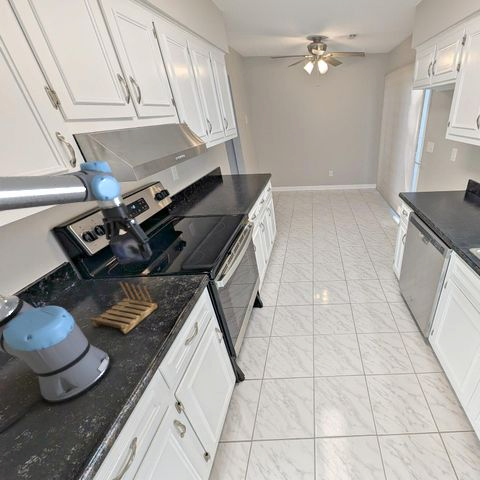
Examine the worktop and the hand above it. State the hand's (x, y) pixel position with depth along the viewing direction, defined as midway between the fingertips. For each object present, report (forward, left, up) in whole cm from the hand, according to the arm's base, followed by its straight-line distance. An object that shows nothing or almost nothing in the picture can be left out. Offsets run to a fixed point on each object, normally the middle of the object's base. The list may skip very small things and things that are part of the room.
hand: (135, 256), depth 102 cm
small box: (0, 0, -2) cm, 2 cm away
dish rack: (-14, -4, -18) cm, 23 cm away
